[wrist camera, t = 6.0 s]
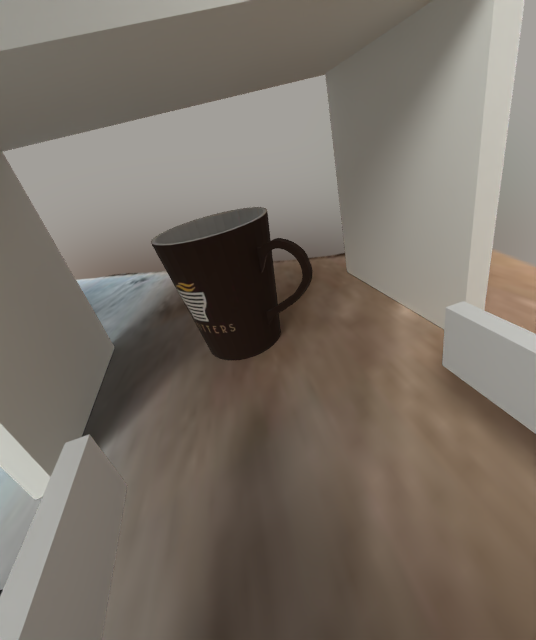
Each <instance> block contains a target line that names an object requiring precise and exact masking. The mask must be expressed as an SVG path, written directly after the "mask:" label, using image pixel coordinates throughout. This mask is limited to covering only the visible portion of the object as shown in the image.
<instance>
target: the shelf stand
mask: <svg viewBox="0 0 536 640" xmlns="http://www.w3.org/2000/svg"><path fill="white" fill-rule="evenodd" d="M524 1H525V0H0V467H1V468H2V469H3V470H4V471H5V472H6V473H8V474H9V475H10V476H11V477H12V478H13V479H14V480H15V481H16V482H17V483H18V484H19V485H20V486H21V487H22V488H23V489H24V490H25V491H26V492H27V493H28V494H29V495H30V496H31V497H32V498H33V499H34V500H36V499H38V498H41V497H43V494H44V492H45V489H46V487H47V485H48V482H49V480H50V478H51V475H52V473H53V471H54V468H55V466H56V464H57V461H58V459H59V456H60V454H61V452H62V449H63V447H64V445H65V443H66V442H69V441H72V440H75V439H78V438H80V437H82V435H83V432H84V429H85V427H86V424H87V421H88V418H89V416H90V413H91V410H92V408H93V405H94V402H95V400H96V397H97V394H98V391H99V389H100V386H101V383H102V381H103V378H104V375H105V372H106V370H107V367H108V364H109V362H110V359H111V356H112V354H113V351H114V348H115V347H114V345H113V344H112V342H111V340H110V338H109V337H108V335H107V333H106V331H105V330H104V328H103V326H102V324H101V323H100V321H99V319H98V317H97V316H96V314H95V312H94V310H93V309H92V307H91V305H90V304H89V302H88V300H87V298H86V297H85V295H84V293H83V291H82V290H81V288H80V286H79V284H78V283H77V281H76V279H75V277H74V276H73V274H72V272H71V271H70V269H69V267H68V265H67V263H66V262H65V260H64V258H63V257H62V255H61V253H60V252H59V250H58V248H57V246H56V244H55V243H54V241H53V239H52V237H51V236H50V234H49V232H48V230H47V229H46V227H45V225H44V223H43V222H42V220H41V218H40V217H39V215H38V213H37V211H36V210H35V208H34V206H33V205H32V203H31V201H30V199H29V197H28V196H27V194H26V192H25V190H24V189H23V187H22V185H21V183H20V182H19V180H18V178H17V177H16V175H15V173H14V171H13V170H12V168H11V166H10V164H9V163H8V161H7V159H6V157H5V156H4V154H3V151H7V150H12V149H16V148H20V147H24V146H28V145H32V144H37V143H41V142H45V141H49V140H53V139H58V138H62V137H66V136H70V135H74V134H79V133H83V132H87V131H91V130H95V129H99V128H104V127H108V126H112V125H116V124H120V123H125V122H128V121H133V120H137V119H141V118H145V117H149V116H153V115H157V114H162V113H166V112H170V111H175V110H179V109H183V108H187V107H191V106H195V105H200V104H204V103H208V102H212V101H216V100H221V99H225V98H228V97H233V96H237V95H242V94H246V93H249V92H254V91H258V90H262V89H267V88H271V87H275V86H279V85H283V84H287V83H292V82H296V81H300V80H304V79H308V78H313V77H317V76H321V75H326V84H327V93H328V102H329V112H330V121H331V130H332V139H333V148H334V156H335V166H336V175H337V183H338V184H337V185H338V194H339V202H340V211H341V220H342V230H343V239H344V248H345V258H346V267H347V272H348V273H350V274H352V275H353V276H355V277H357V278H358V279H360V280H362V281H363V282H365V283H367V284H369V285H370V286H372V287H374V288H375V289H377V290H379V291H380V292H382V293H384V294H385V295H387V296H389V297H390V298H392V299H394V300H395V301H397V302H399V303H400V304H402V305H404V306H405V307H407V308H409V309H410V310H412V311H414V312H415V313H417V314H419V315H421V316H422V317H424V318H426V319H427V320H429V321H431V322H432V323H434V324H436V325H437V326H439V327H441V328H442V329H444V328H445V312H446V307H448V306H451V305H454V304H457V303H460V302H462V301H464V302H467V303H469V304H471V305H473V306H475V307H478V308H480V309H482V310H484V308H485V300H486V293H487V285H488V277H489V270H490V262H491V254H492V247H493V239H494V231H495V223H496V216H497V208H498V200H499V193H500V185H501V177H502V170H503V162H504V155H505V146H506V139H507V132H508V123H509V116H510V109H511V101H512V93H513V85H514V78H515V70H516V62H517V55H518V47H519V39H520V32H521V24H522V16H523V8H524Z"/></svg>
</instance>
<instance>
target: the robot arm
mask: <svg viewBox="0 0 536 640" xmlns="http://www.w3.org/2000/svg"><path fill="white" fill-rule="evenodd" d="M442 365H443V366H444V367H445V368H447V369H448V370H450V371H451V372H452V373H454V374H455V375H456V376H458V377H459V378H460V379H462V380H463V381H464V382H466V383H467V384H469V385H470V386H471V387H473V388H474V389H475V390H477V391H478V392H479V393H481V394H482V395H483V396H485V397H486V398H488V399H489V400H490V401H492V402H493V403H494V404H496V405H497V406H498V407H500V408H501V409H502V410H504V411H505V412H507V413H508V414H509V415H511V416H512V417H513V418H515V419H516V420H517V421H519V422H520V423H521V424H523V425H524V426H526V427H527V428H528V429H530V430H531V431H532V432H534V433H535V434H536V334H535V333H532V332H530V331H528V330H526V329H524V328H522V327H519V326H517V325H515V324H513V323H511V322H508V321H506V320H504V319H502V318H500V317H497V316H495V315H493V314H491V313H489V312H486V311H484V310H482V309H480V308H478V307H475V306H473V305H471V304H469V303H467V302H464V301H462V302H460V303H457V304H454V305H451V306H448V307H446V312H445V328H444V345H443V362H442ZM127 486H128V485H127V484H126V482H125V481H124V480H123V478H122V477H121V476H120V474H119V473H118V472H117V470H116V469H115V468H114V466H113V465H112V464H111V462H110V461H109V460H108V458H107V457H106V456H105V454H104V453H103V452H102V450H101V449H100V448H99V446H98V445H97V444H96V442H95V441H94V440H93V438H92V437H91V436H90V434H89V435H86V436H83V437H80V438H78V439H75V440H72V441H69V442H66V443H65V445H64V447H63V449H62V452H61V454H60V456H59V459H58V461H57V464H56V466H55V468H54V471H53V473H52V475H51V478H50V480H49V482H48V485H47V487H46V489H45V492H44V494H43V497H42V499H41V501H40V504H39V506H38V508H37V511H36V513H35V515H34V518H33V520H32V523H31V525H30V527H29V530H28V532H27V534H26V537H25V539H24V541H23V544H22V546H21V549H20V551H19V553H18V556H17V558H16V560H15V563H14V565H13V567H12V570H11V572H10V575H9V577H8V579H7V582H6V584H5V586H4V589H3V590H0V640H102V635H103V629H104V623H105V617H106V611H107V605H108V599H109V593H110V587H111V581H112V575H113V569H114V563H115V557H116V551H117V545H118V539H119V533H120V527H121V521H122V515H123V509H124V503H125V497H126V492H127Z"/></svg>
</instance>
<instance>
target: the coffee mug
mask: <svg viewBox="0 0 536 640" xmlns="http://www.w3.org/2000/svg"><path fill="white" fill-rule="evenodd" d="M151 244H152V246H153V247H154V249H155V251H156V253H157V255H158V256H159V258H160V260H161V261H162V263H163V265H164V267H165V269H166V271H167V273H168V274H169V276H170V278H171V280H172V282H173V283H174V285H175V287H176V289H177V291H178V292H179V294H180V296H181V298H182V300H183V301H184V303H185V305H186V307H187V309H188V310H189V312H190V314H191V316H192V318H193V319H194V321H195V323H196V325H197V327H198V328H199V330H200V332H201V334H202V336H203V338H204V339H205V341H206V343H207V345H208V347H209V348H210V350H211V352H212V354H213V355H215V356H216V357H218V358H220V359H224V360H241V359H246V358H249V357H253V356H255V355H258V354H260V353H262V352H264V351H265V350H267V349H269V348H270V347H271V346H272V345H273V344H274V343H275V342H276V341H277V340H278V338H279V336H280V333H281V331H280V322H279V313H280V312H281V311H283V310H284V309H286V308H287V307H289V306H290V305H292V304H293V303H294V302H296V301H297V300H298V299H299V298H300V297H301V296H302V294H303V293H304V292H305V291H306V289H307V288H308V286H309V284H310V282H311V279H312V267H311V264H310V262H309V259H308V256H307V254H306V253H305V251H304V250H303V249H302V248H301V247H300V246H298V245H297V244H295V243H294V242H292V241H289V240H286V239H281V238H277V239H274V240H272V241H270V232H269V223H268V214H267V209H266V208H261V207H253V208H243V209H237V210H231V211H227V212H222V213H218V214H214V215H210V216H207V217H203V218H200V219H196V220H193V221H190V222H187V223H184V224H182V225H179V226H176V227H174V228H172V229H169V230H167V231H165V232H163V233H161V234H159V235H158V236H156V237H155V238H154V239H152V241H151ZM275 248H281V249H284V250H286V251H288V252H290V253H291V254H292V255H294V256H295V257H296V259H297V260H298V262H299V263H300V265H301V268H302V274H303V278H302V282H301V284H300V286H299V287H298V289H297V291H296V292H295V293H294V294H293V295H292V296H290V297H289V298H288V299H286V300H285V301H283V302H282V303H280V304H277V295H276V286H275V277H274V268H273V259H272V249H275Z"/></svg>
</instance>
